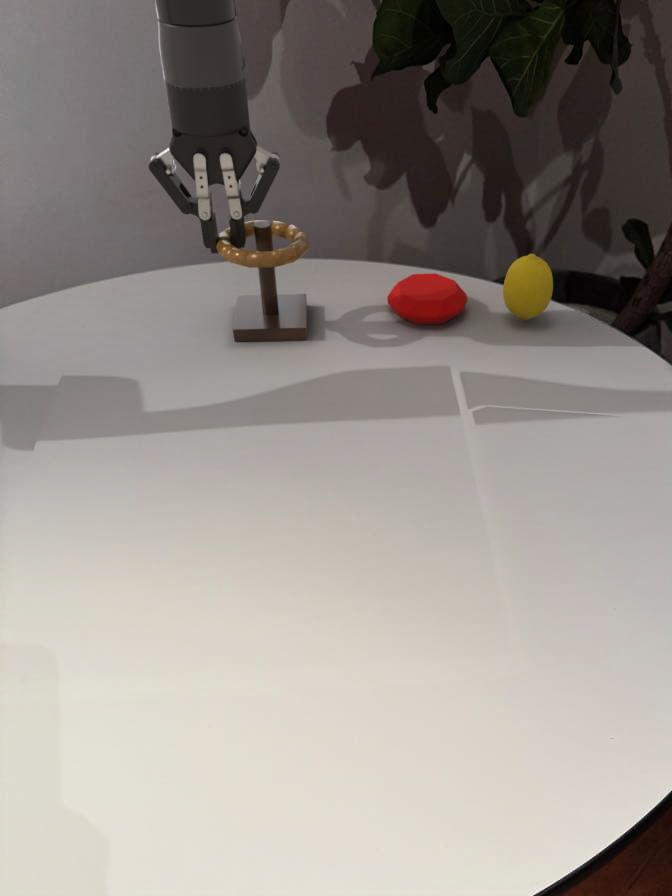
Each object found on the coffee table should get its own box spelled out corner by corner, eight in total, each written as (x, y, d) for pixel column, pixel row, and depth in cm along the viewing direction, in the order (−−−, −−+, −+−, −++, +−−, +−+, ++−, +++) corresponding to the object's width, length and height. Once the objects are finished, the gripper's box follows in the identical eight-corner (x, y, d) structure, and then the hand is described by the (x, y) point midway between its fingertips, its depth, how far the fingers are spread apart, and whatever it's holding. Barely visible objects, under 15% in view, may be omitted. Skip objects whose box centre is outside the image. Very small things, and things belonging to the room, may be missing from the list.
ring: (214, 270, 90) (212, 255, 88) (221, 232, 97) (219, 218, 96) (308, 270, 90) (307, 255, 89) (308, 232, 97) (307, 218, 96)
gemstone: (412, 336, 98) (412, 312, 96) (375, 302, 103) (375, 278, 101) (479, 318, 101) (481, 294, 99) (440, 286, 107) (441, 263, 105)
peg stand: (234, 341, 96) (221, 241, 88) (238, 307, 102) (226, 209, 94) (307, 339, 97) (300, 239, 89) (307, 305, 103) (300, 208, 95)
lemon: (547, 310, 103) (556, 245, 97) (548, 334, 99) (558, 267, 93) (500, 307, 103) (507, 242, 98) (499, 330, 99) (506, 264, 93)
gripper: (123, 84, 78) (156, 267, 90) (276, 83, 79) (290, 264, 91) (135, 61, 84) (165, 236, 95) (278, 61, 85) (291, 234, 96)
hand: (226, 249), depth 93 cm, fingers closed on ring, 1 cm apart
